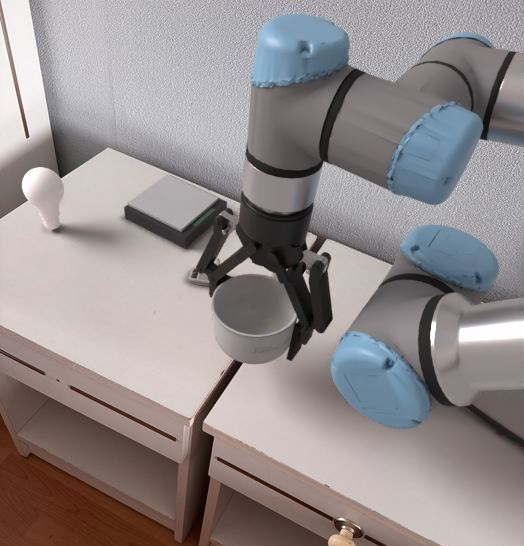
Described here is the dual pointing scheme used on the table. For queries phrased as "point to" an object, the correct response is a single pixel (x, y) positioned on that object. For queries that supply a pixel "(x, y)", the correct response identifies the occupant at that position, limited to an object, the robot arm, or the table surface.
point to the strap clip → (201, 276)
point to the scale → (174, 210)
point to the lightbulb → (44, 194)
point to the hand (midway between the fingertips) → (256, 334)
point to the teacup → (253, 318)
